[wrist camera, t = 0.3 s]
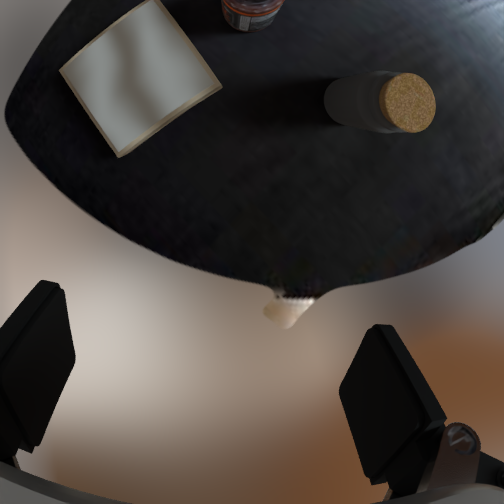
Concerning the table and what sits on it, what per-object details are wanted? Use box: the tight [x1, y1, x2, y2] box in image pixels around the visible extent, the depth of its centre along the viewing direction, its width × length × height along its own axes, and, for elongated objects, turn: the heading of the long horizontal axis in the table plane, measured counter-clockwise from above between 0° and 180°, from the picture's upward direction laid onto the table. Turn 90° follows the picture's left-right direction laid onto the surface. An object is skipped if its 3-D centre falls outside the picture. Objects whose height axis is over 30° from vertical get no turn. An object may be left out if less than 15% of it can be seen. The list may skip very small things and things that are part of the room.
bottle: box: [324, 70, 435, 133], centre depth 27 cm, size 6×6×15 cm
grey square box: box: [59, 0, 223, 158], centre depth 29 cm, size 13×13×4 cm
